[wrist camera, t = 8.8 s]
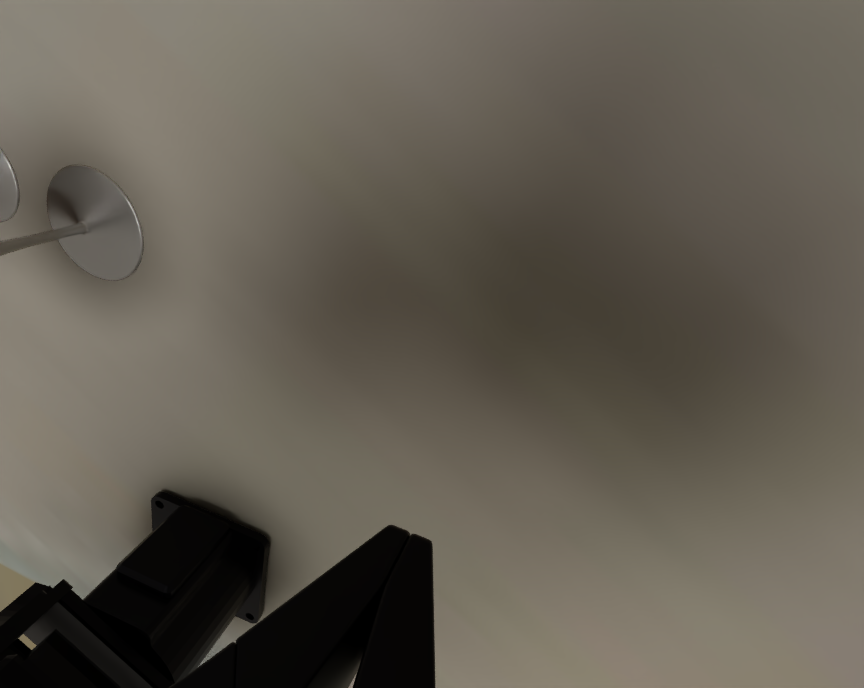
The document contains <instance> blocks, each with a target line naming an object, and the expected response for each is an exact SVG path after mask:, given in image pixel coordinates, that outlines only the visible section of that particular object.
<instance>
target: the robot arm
mask: <svg viewBox="0 0 864 688" xmlns="http://www.w3.org/2000/svg"><path fill="white" fill-rule="evenodd" d="M151 508H152V528H153V532H152V533H151V534H150V535H148V536H147V537H146V538H145V539H144V540H143V541H142V542H141V543H140V544H139V545H138V546H137V547H136V548H135V549H134V550H133V551H132V552H131V553H129V554H128V555H127V556H126V557H125V558H124V559H123V560H122V561H121V562H120V563H119V564H118V565H117V568H116V569H115V570H114V571H113V572H112V573H111V574H110V575H109V576H107V577H106V578H105V579H104V580H103V581H102V582H101V583H100V584H99V585H98V586H97V587H96V588H95V589H94V590H93V591H92V592H91V593H90V594H89V595H87V596H86V597H85V598H84V599H83V600H82V599H81V598H80V597H79V596H78V595H77V594H76V593H75V592H73V591H72V590H71V589H72V588H73V587H72V586H71V585H70V584H69V583H68V582H67V581H65V580H64V579H63V580H62V581H61V582H60V583H58V584H57V585H56V586H55V587H54V588H52V587H51V586H46V585H42V584H39V583H34V584H33V585H32V586H31V587H30V588H29V589H27V590H26V591H25V592H24V593H23V594H21V595H20V596H19V597H18V598H17V599H16V600H14V601H13V602H12V603H11V604H9V606H7V607H6V608H5V609H4V610H2V611H1V612H0V688H348V687H349V685H350V684H351V682H352V680H353V678H354V676H355V675H356V673H357V675H356V678H355V682H354V685H353V688H435V646H434V597H433V549H432V542H431V541H430V540H429V539H426V538H424V537H421V536H419V535H417V534H411V535H410V533H409V532H408V531H407V530H404V529H402V528H399V527H397V526H394V525H388V526H387V527H385V528H384V529H382V530H381V531H380V532H378V533H377V534H376V535H374V536H373V537H372V538H371V539H369V540H368V541H367V542H365V543H364V544H363V545H361V546H360V547H359V548H357V549H356V550H355V551H353V552H352V553H351V554H349V555H348V556H347V557H345V558H344V559H343V560H341V561H340V562H339V563H337V564H336V565H335V566H333V567H332V568H331V569H329V570H328V571H327V572H325V573H324V574H323V575H321V576H320V577H319V578H317V579H316V580H315V581H313V582H312V583H311V584H309V585H308V586H307V587H305V588H304V589H303V590H301V591H300V592H299V593H297V594H296V595H295V596H293V597H292V598H291V599H289V600H288V601H287V602H285V603H284V604H283V605H281V606H280V607H279V608H277V609H276V610H275V611H273V612H272V613H271V614H269V615H268V616H267V617H265V618H264V619H263V620H261V621H260V622H259V623H257V622H258V620H259V619H260V617H261V616H262V612H263V602H264V592H265V582H266V572H267V562H268V552H269V541H268V539H267V538H266V537H265V536H264V535H263V534H261V533H259V532H256V531H254V530H252V529H249V528H247V527H245V526H242V525H240V524H238V523H235V522H233V521H231V520H229V519H226V518H224V517H222V516H219V515H217V514H215V513H212V512H210V511H208V510H205V509H203V508H201V507H198V506H196V505H194V504H191V503H189V502H187V501H184V500H182V499H180V498H177V497H175V496H173V495H170V494H168V493H166V492H162V491H161V492H158V493H157V494H156V495H155V496H154V497H153V498H152V499H151ZM235 616H237V617H239V618H241V619H243V620H245V621H248V622H250V623H257V624H256V625H255V626H253V627H252V628H251V629H249V630H248V631H247V632H245V633H244V634H243V635H241V636H240V637H239V638H238V639H237V640H236V643H235V642H232V643H230V644H229V645H228V646H226V647H225V648H224V649H222V650H221V651H220V652H219V653H217V654H216V655H215V656H213V657H212V658H210V659H209V660H208V661H206V662H205V663H203V664H202V665H201V666H199V665H200V663H201V662H202V661H203V659H204V658H205V657H206V655H207V654H208V652H209V651H210V650H211V648H212V647H213V646H214V644H215V643H216V641H217V640H218V639H219V637H220V636H221V634H222V633H223V632H224V630H225V629H226V628H227V626H228V625H229V623H230V622H231V621H232V619H233V618H234V617H235ZM22 634H24V635H25V636H27V637H28V638H29V639H30V640H31V641H32V642H33V643H34V644H36V645H37V646H36V647H35V648H34V649H33V650H31V649H29V648H28V647H27V646H26V645H25V644H24V643H23V642H22V641H20V640H19V639H18V638H19V637H20V636H21V635H22ZM198 666H199V667H198ZM357 671H358V672H357Z"/></svg>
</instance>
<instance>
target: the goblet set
mask: <svg viewBox="0 0 864 688" xmlns="http://www.w3.org/2000/svg"><path fill="white" fill-rule="evenodd" d="M19 199H20V193H19V185H18V181H17V177H16V174H15V172H14V169H13V167H12V165H11V163H10V161H9V159H8V158H7V156H6V155H5V153H4V152H3V150H2V149H1V148H0V222H3V221H7V220H9V219H10V218H12V217H13V216H14V215H15V213H16V211H17V209H18V206H19ZM47 210H48V216H49V220H50V223H51V226H52V229H53V230H51V231H47V232H43V233H39V234H34V235H30V236H25V237H21V238H15V239H10V240H5V241H0V256H2V255H4V254H7V253H10V252H14V251H17V250H20V249H23V248H27V247H30V246H34V245H38V244H41V243H45V242H49V241H53V240H58V241H59V243H60V245H61V246H62V248H63V249H64V251H65V252H66V253H67V254H68V256H69V257H70V258H71V259H72V260H73V261H74V262H75V263H76V264H77V265H78V266H79V267H81V268H82V269H83V270H85V271H86V272H88V273H90V274H91V275H93V276H95V277H98V278H101V279H104V280H121V279H124V278H126V277H128V276H130V275H131V274H132V273H134V271H135V270H136V269H137V268H138V266H139V264H140V262H141V259H142V255H143V247H144V241H143V233H142V228H141V224H140V221H139V218H138V215H137V213H136V211H135V209H134V207H133V205H132V203H131V202H130V200H129V198H128V197H127V196H126V194H125V193H124V192H123V190H122V189H121V188H120V187H119V186H118V185H117V184H116V183H115V182H114V181H113V180H112V179H111V178H110V177H108V176H107V175H105V174H104V173H102V172H101V171H99V170H97V169H95V168H92V167H89V166H86V165H70V166H67V167H64V168H62V169H61V170H59V171H58V172H57V173H56V174H55V176H54V177H53V178H52V180H51V182H50V185H49V188H48V193H47Z"/></svg>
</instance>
